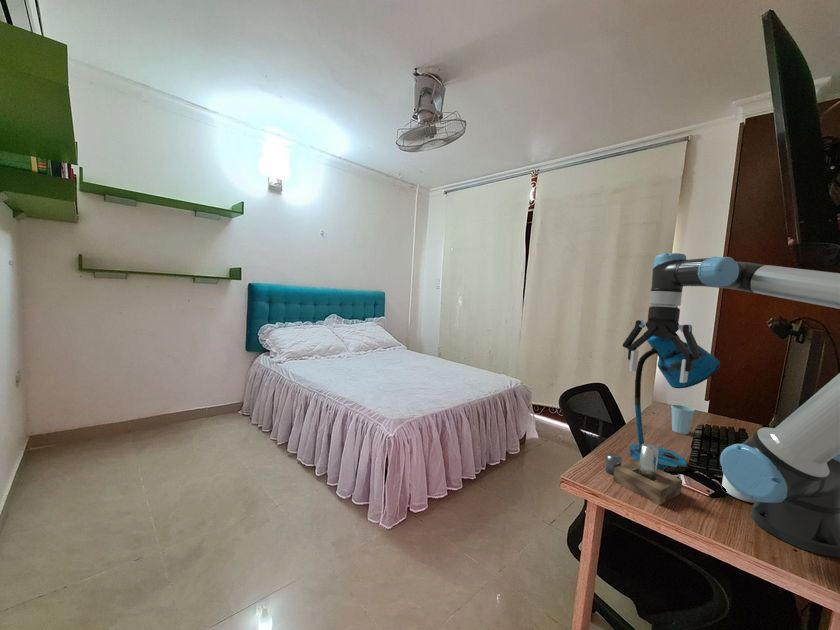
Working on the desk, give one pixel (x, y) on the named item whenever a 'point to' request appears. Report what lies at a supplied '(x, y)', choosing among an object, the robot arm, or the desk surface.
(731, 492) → the beverage can
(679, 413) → the cup
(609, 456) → the stub pin
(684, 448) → the desk surface
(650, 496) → the tan square frame
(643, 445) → the tall pin
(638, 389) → the desk lamp
